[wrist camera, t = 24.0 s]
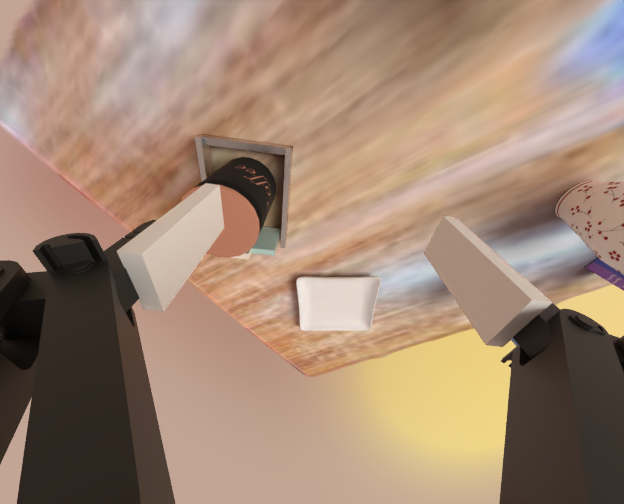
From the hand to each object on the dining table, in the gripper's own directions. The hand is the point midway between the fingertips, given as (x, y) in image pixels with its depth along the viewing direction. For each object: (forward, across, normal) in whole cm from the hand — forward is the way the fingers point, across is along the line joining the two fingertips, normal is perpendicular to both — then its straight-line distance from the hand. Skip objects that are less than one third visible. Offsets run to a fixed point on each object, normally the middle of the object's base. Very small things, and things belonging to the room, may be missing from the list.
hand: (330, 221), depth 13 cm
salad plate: (+32, +10, -40) cm, 52 cm away
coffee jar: (+32, -13, -10) cm, 36 cm away
